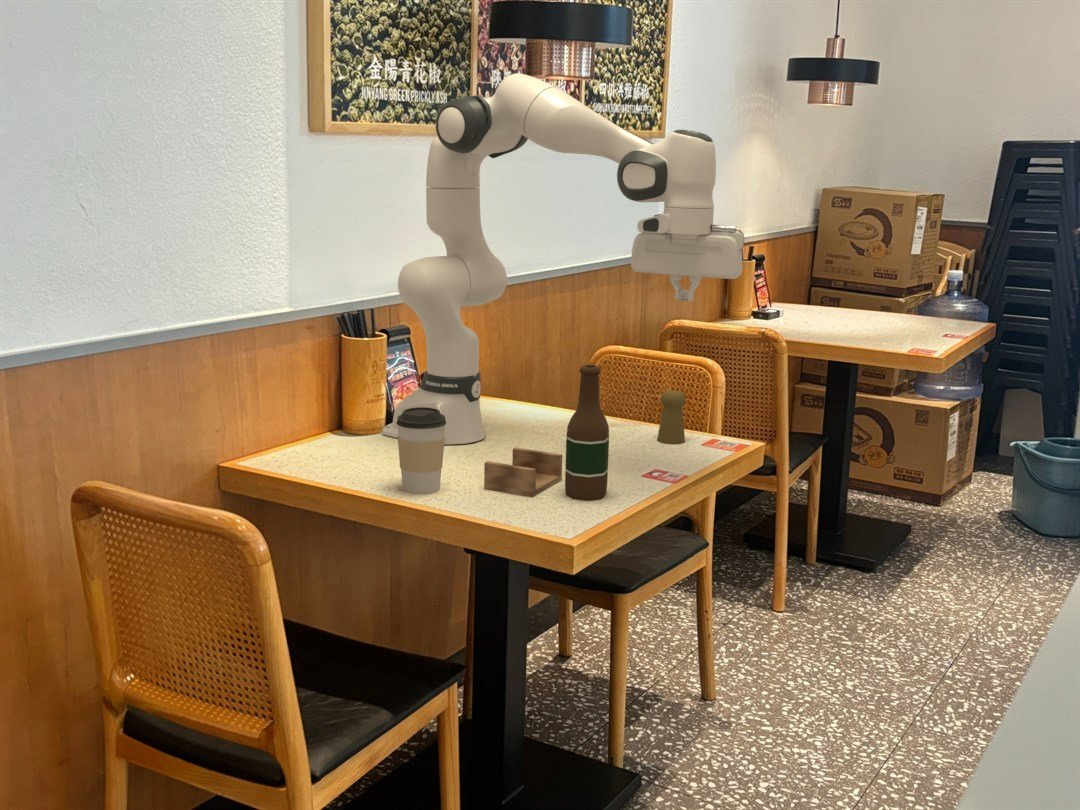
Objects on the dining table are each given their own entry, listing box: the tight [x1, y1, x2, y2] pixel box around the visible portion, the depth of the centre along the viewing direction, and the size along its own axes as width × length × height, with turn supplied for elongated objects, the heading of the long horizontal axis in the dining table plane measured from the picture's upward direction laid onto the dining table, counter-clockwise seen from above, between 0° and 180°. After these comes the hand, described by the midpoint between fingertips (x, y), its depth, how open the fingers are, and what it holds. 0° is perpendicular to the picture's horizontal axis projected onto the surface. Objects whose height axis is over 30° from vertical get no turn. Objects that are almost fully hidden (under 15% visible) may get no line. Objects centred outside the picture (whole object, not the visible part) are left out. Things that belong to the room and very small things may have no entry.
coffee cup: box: [396, 407, 446, 495], centre depth 210 cm, size 9×9×15 cm
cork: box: [656, 389, 686, 445], centre depth 248 cm, size 6×6×11 cm
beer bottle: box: [564, 364, 610, 502], centre depth 208 cm, size 8×8×24 cm
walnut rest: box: [483, 447, 563, 498], centre depth 215 cm, size 10×12×5 cm
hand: (684, 300), depth 209 cm, fingers closed
